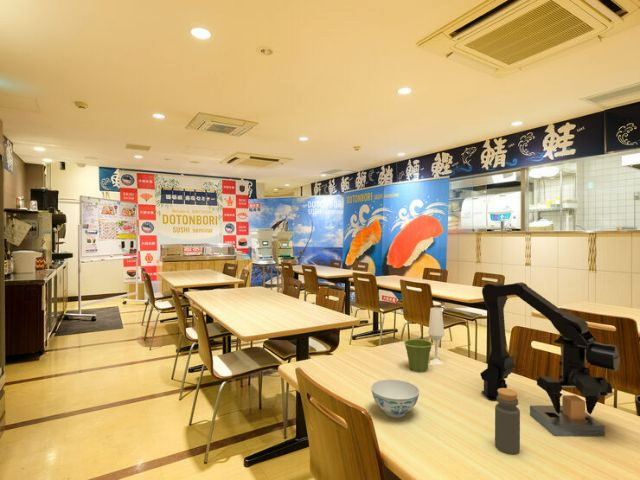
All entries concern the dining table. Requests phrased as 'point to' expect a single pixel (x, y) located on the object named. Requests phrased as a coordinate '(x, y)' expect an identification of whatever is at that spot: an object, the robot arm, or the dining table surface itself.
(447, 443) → the dining table surface
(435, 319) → the champagne flute
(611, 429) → the dining table surface
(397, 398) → the chinaware
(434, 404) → the dining table surface
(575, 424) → the socket plate
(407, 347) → the plant pot
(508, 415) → the bottle
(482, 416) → the dining table surface
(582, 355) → the robot arm
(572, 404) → the peg
